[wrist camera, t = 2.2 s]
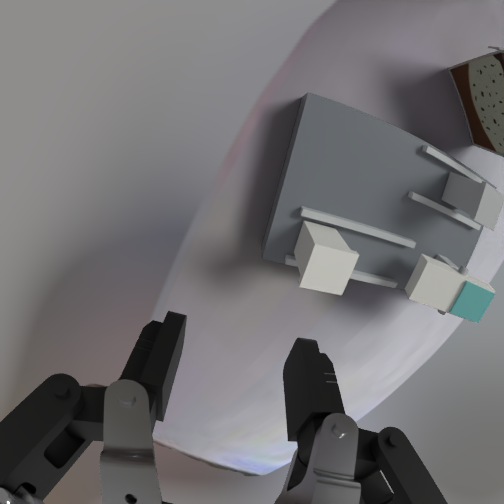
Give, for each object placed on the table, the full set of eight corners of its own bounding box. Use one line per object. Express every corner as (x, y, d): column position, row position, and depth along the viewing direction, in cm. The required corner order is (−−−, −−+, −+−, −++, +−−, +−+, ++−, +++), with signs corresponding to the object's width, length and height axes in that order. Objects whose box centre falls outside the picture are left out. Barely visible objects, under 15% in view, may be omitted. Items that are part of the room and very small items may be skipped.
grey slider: (449, 169, 20) (486, 182, 15) (469, 181, 21) (505, 196, 16) (439, 200, 22) (474, 219, 17) (459, 211, 22) (493, 231, 17)
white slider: (302, 217, 23) (315, 244, 18) (338, 227, 23) (359, 255, 18) (290, 253, 24) (299, 286, 19) (325, 261, 25) (341, 295, 20)
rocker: (424, 247, 22) (431, 256, 20) (490, 278, 21) (499, 288, 19) (401, 293, 24) (406, 305, 22) (468, 317, 23) (475, 329, 21)
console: (302, 96, 21) (314, 88, 16) (481, 181, 23) (510, 193, 18) (261, 245, 28) (262, 272, 23) (437, 287, 30) (458, 311, 25)
